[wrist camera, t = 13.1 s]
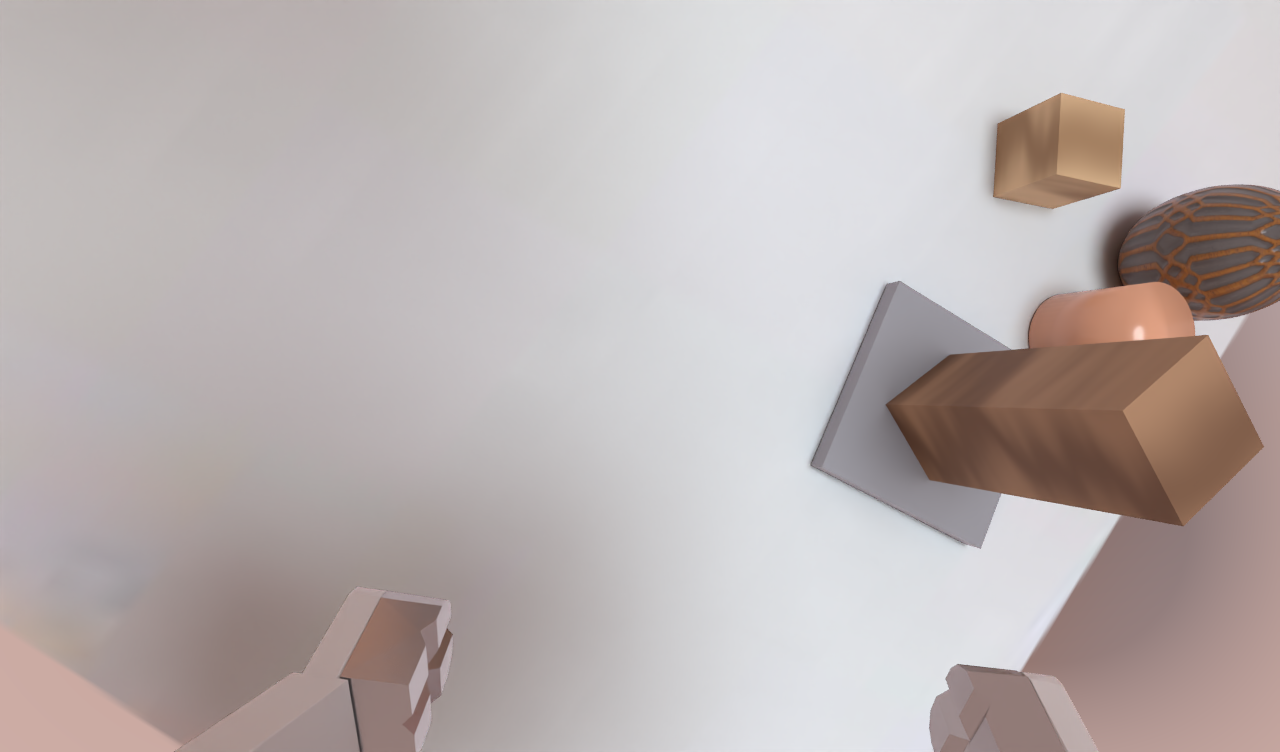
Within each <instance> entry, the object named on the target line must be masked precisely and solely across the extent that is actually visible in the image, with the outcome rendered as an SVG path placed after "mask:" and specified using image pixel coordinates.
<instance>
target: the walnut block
mask: <svg viewBox="0 0 1280 752" xmlns="http://www.w3.org/2000/svg"><path fill="white" fill-rule="evenodd" d="M886 406H887V408H888V410H889V411H890V413H891V415H892V416H893V418H894V420H895V422H896V423H897V425H898V427H899V428H900V430H901V432H902V434H903V435H904V437H905V439H906V441H907V442H908V444H909V446H910V447H911V449H912V451H913V453H914V454H915V456H916V458H917V459H918V461H919V463H920V465H921V466H922V468H923V470H924V472H925V473H926V475H927V477H928V478H929V480H931V481H937V482H942V483H948V484H953V485H959V486H964V487H970V488H975V489H981V490H986V491H992V492H997V493H1003V494H1008V495H1014V496H1019V497H1025V498H1030V499H1036V500H1041V501H1047V502H1053V503H1058V504H1064V505H1069V506H1075V507H1080V508H1086V509H1091V510H1097V511H1102V512H1108V513H1113V514H1119V515H1124V516H1130V517H1135V518H1141V519H1146V520H1152V521H1158V522H1163V523H1168V524H1174V525H1180V526H1184V525H1185V524H1186V523H1187V522H1188V521H1189V520H1190V519H1191V518H1192V517H1193V516H1194V515H1195V514H1196V513H1197V512H1198V511H1199V510H1200V509H1201V508H1202V507H1203V506H1204V505H1205V504H1206V503H1207V502H1208V501H1209V500H1211V498H1213V497H1214V496H1215V495H1216V493H1217V492H1219V491H1220V490H1221V489H1222V488H1223V487H1224V486H1225V485H1226V484H1227V483H1228V482H1229V481H1230V480H1231V479H1232V478H1233V477H1234V476H1235V475H1236V474H1237V473H1238V472H1239V471H1240V470H1241V469H1242V468H1243V467H1244V466H1245V465H1246V464H1247V463H1248V462H1249V461H1250V460H1251V459H1252V458H1253V457H1254V456H1255V455H1256V454H1257V453H1258V452H1259V451H1260V450H1261V449H1262V448H1263V447H1264V446H1263V444H1262V442H1261V440H1260V438H1259V436H1258V434H1257V432H1256V430H1255V428H1254V426H1253V424H1252V422H1251V420H1250V418H1249V416H1248V414H1247V412H1246V410H1245V408H1244V406H1243V404H1242V402H1241V400H1240V398H1239V396H1238V394H1237V392H1236V390H1235V388H1234V386H1233V384H1232V382H1231V380H1230V378H1229V376H1228V374H1227V372H1226V370H1225V368H1224V366H1223V364H1222V362H1221V360H1220V358H1219V356H1218V354H1217V352H1216V350H1215V348H1214V346H1213V344H1212V342H1211V340H1210V338H1209V336H1208V335H1201V336H1188V337H1175V338H1162V339H1149V340H1135V341H1122V342H1109V343H1096V344H1083V345H1070V346H1057V347H1043V348H1030V349H1017V350H1004V351H991V352H978V353H964V354H951V355H949V356H947V357H946V358H945V359H943V360H942V361H941V362H940V363H938V364H937V365H936V366H934V367H933V368H932V369H931V370H929V371H928V372H927V373H925V374H924V375H923V376H922V377H920V378H919V379H918V380H916V381H915V382H914V383H913V384H911V385H910V386H909V387H907V388H906V389H905V390H904V391H902V392H901V393H900V394H898V395H897V396H896V397H895V398H893V399H892V400H891V401H889V402H888V403H887V404H886Z"/></svg>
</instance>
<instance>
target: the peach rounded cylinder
mask: <svg viewBox="0 0 1280 752" xmlns="http://www.w3.org/2000/svg"><path fill="white" fill-rule="evenodd" d="M1188 336H1195V326H1194V320H1193V316H1192V313H1191V310H1190V308H1189V306H1188V304H1187V302H1186V300H1185V299H1184V297H1183V296H1182V295H1181V294H1180V293H1179V292H1178V291H1177V290H1176V289H1175V288H1173V287H1172V286H1170V285H1168V284H1165V283H1162V282H1150V283H1142V284H1135V285H1127V286H1120V287H1112V288H1105V289H1097V290H1090V291H1082V292H1074V293H1067V294H1059V295H1055V296H1052V297H1050V298H1049V299H1047V300H1046V301H1044V302H1043V303H1042V304H1041V305H1040V307H1039V308H1038V309H1037V311H1036V313H1035V314H1034V317H1033V319H1032V322H1031V326H1030V331H1029V346H1030V348H1043V347H1057V346H1070V345H1083V344H1096V343H1109V342H1122V341H1135V340H1149V339H1162V338H1175V337H1188Z"/></svg>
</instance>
